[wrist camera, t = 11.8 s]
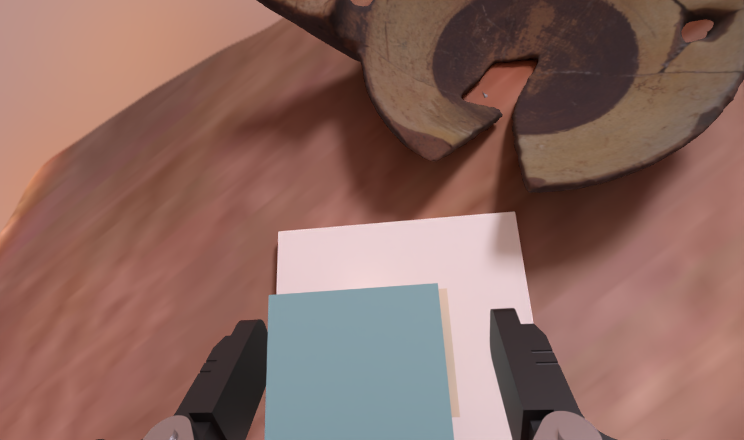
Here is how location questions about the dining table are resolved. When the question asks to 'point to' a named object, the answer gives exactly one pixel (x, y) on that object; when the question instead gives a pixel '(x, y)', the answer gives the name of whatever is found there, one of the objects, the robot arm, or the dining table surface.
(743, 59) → the oil lamp
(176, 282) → the dining table surface
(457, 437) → the build board
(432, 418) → the tall block
